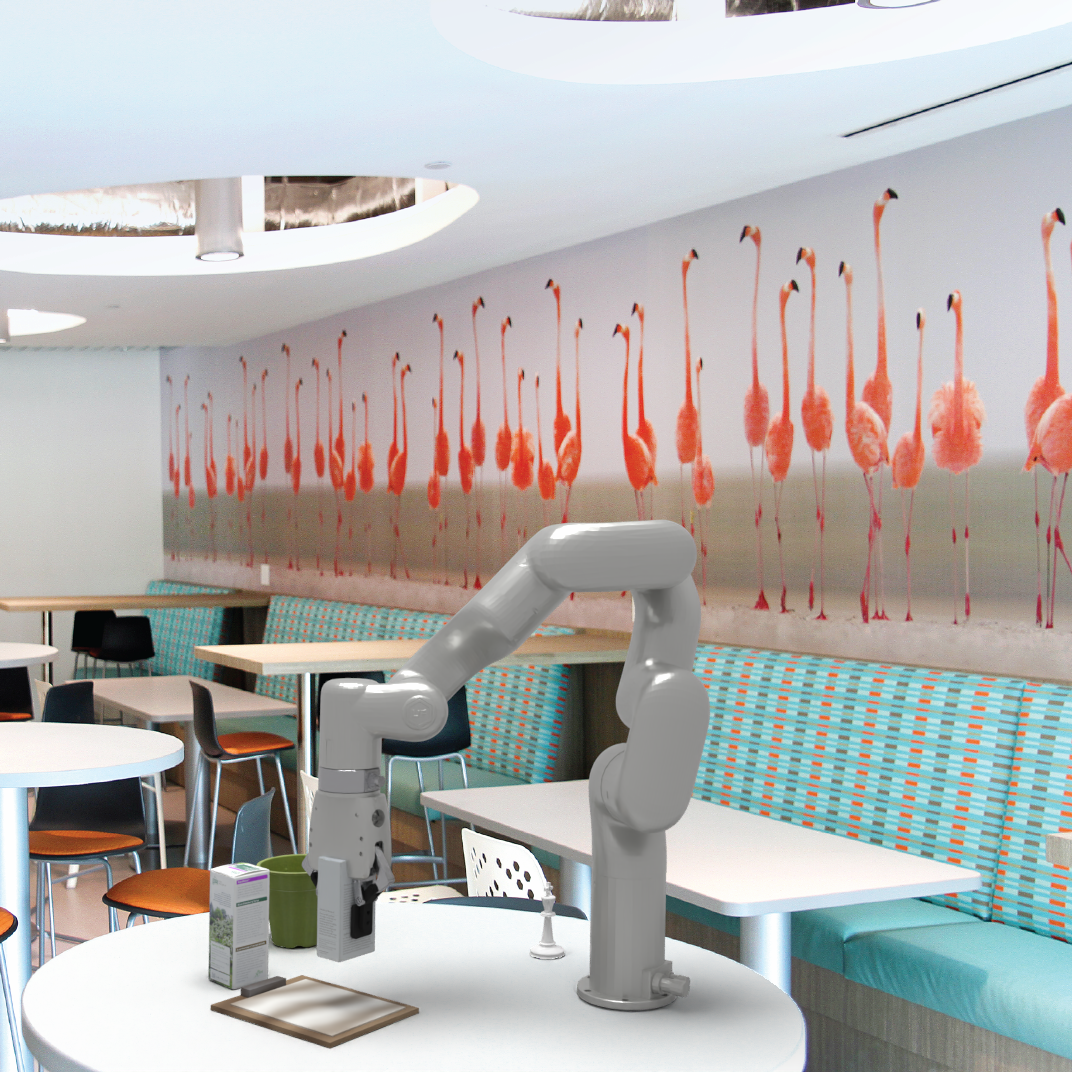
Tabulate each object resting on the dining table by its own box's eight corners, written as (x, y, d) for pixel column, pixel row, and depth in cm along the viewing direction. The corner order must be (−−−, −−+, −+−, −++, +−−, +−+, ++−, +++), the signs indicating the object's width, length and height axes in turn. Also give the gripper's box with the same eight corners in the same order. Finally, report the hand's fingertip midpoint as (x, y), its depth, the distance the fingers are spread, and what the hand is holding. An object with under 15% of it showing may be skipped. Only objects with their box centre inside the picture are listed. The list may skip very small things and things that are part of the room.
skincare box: (351, 945, 161) (353, 848, 161) (375, 952, 158) (378, 853, 158) (314, 956, 156) (316, 856, 156) (338, 963, 153) (341, 861, 154)
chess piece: (571, 953, 182) (572, 881, 182) (552, 962, 178) (554, 888, 178) (541, 947, 185) (543, 876, 185) (522, 955, 181) (524, 883, 181)
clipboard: (418, 1012, 156) (419, 999, 156) (329, 1048, 144) (330, 1033, 144) (301, 979, 168) (302, 967, 168) (210, 1009, 156) (210, 996, 156)
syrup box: (270, 981, 167) (272, 867, 168) (230, 991, 163) (233, 874, 163) (244, 971, 171) (247, 860, 172) (205, 980, 167) (208, 867, 167)
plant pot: (270, 928, 192) (272, 851, 192) (348, 933, 190) (350, 856, 190) (241, 951, 180) (244, 869, 180) (324, 956, 178) (326, 874, 179)
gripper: (422, 785, 156) (419, 938, 155) (321, 770, 166) (317, 914, 165) (381, 792, 150) (376, 952, 149) (277, 777, 159) (273, 927, 159)
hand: (345, 931), depth 157 cm, fingers closed on skincare box, 4 cm apart
